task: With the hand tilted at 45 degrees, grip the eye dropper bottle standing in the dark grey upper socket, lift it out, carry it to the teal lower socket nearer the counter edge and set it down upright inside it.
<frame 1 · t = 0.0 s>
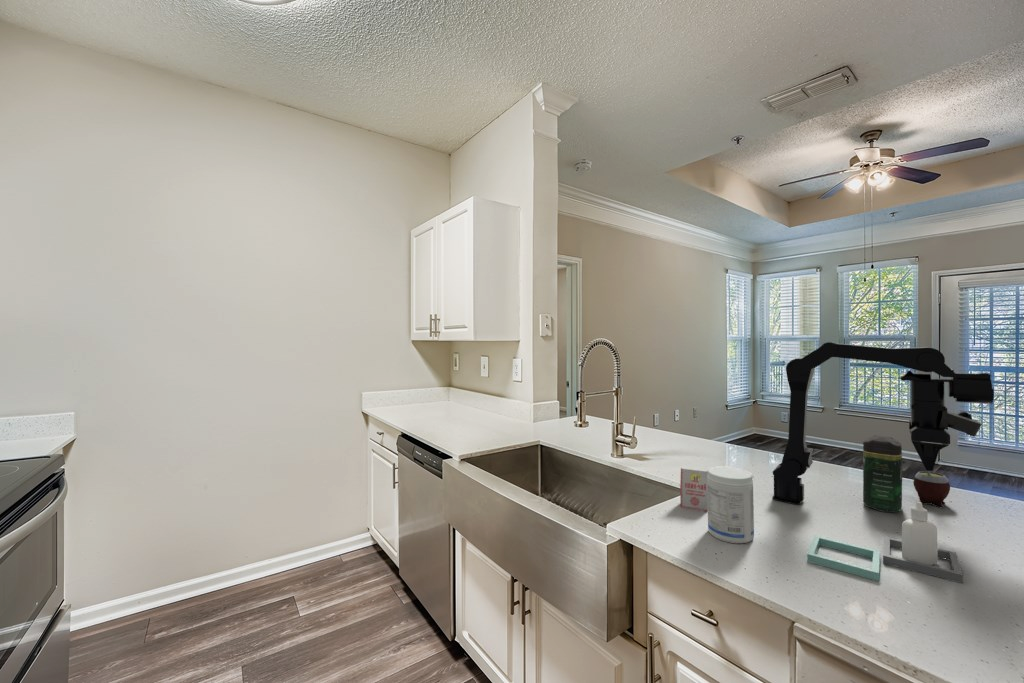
hand: (928, 466, 101), 15 cm above the countertop, tool pointing down, fingers open, 9 cm apart
supplement tub: (730, 536, 98), on the countertop
coffee jar: (882, 507, 114), on the countertop
lower socket: (843, 559, 87), on the countertop
tea bag: (694, 507, 115), on the countertop
eye dropper bottle: (919, 562, 86), resting in upper socket
upper socket: (919, 561, 86), on the countertop
mate gourd: (932, 504, 115), on the countertop
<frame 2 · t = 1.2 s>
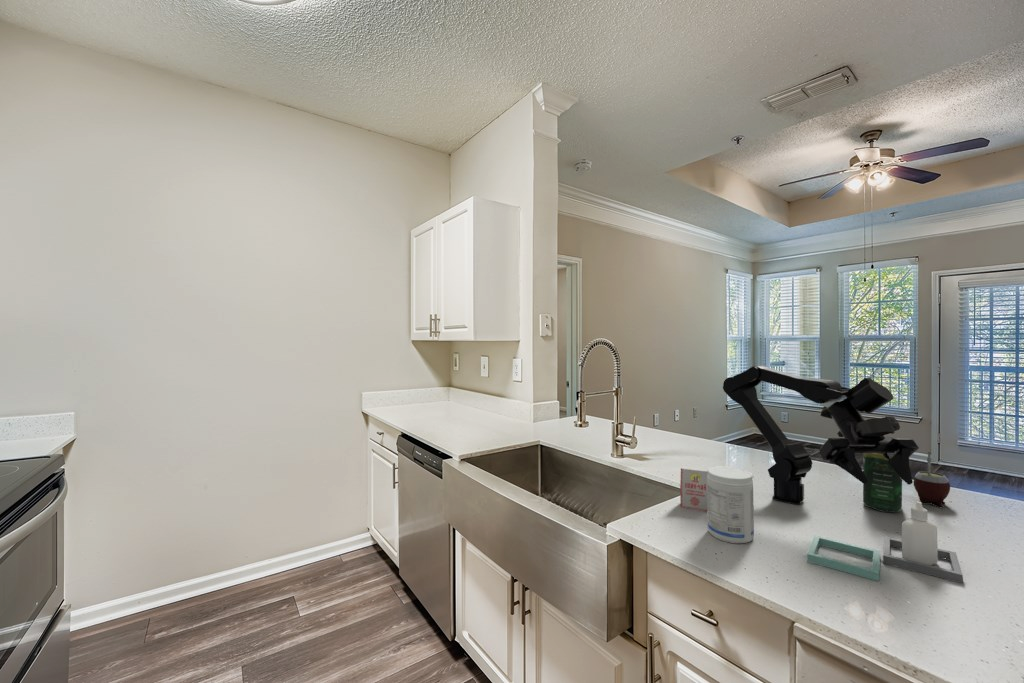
hand: (888, 483, 93), 13 cm above the countertop, tool tilted 45°, fingers open, 9 cm apart
nothing on the countertop moved.
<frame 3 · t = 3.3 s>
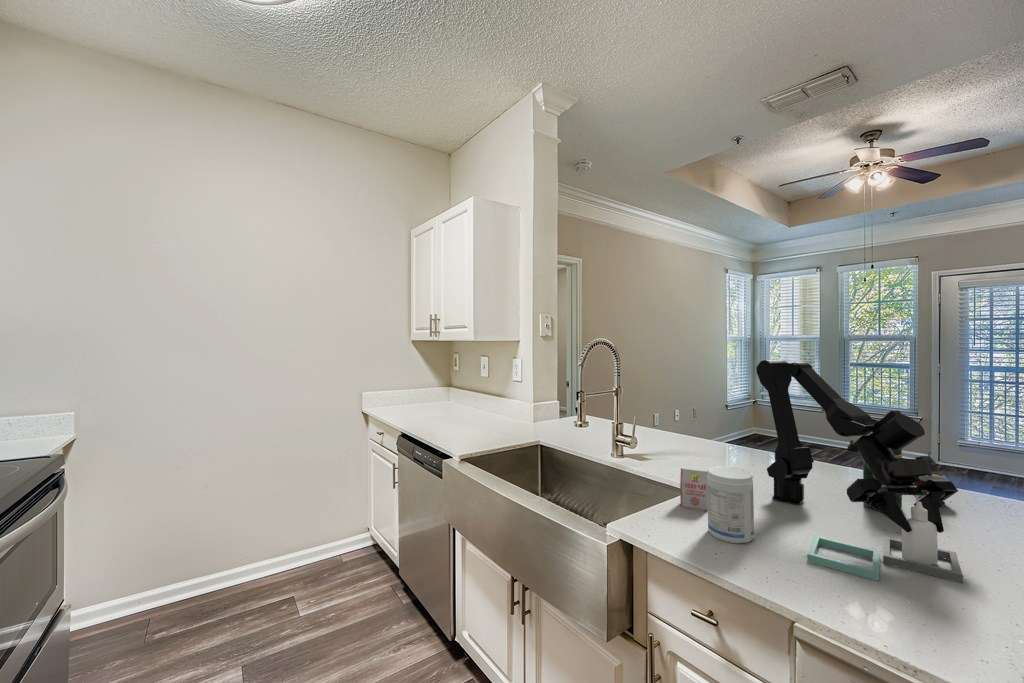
hand: (925, 531, 84), 7 cm above the countertop, tool tilted 45°, fingers closed on eye dropper bottle, 6 cm apart
eye dropper bottle: (919, 562, 86), resting in upper socket, touching gripper
everything else where it was.
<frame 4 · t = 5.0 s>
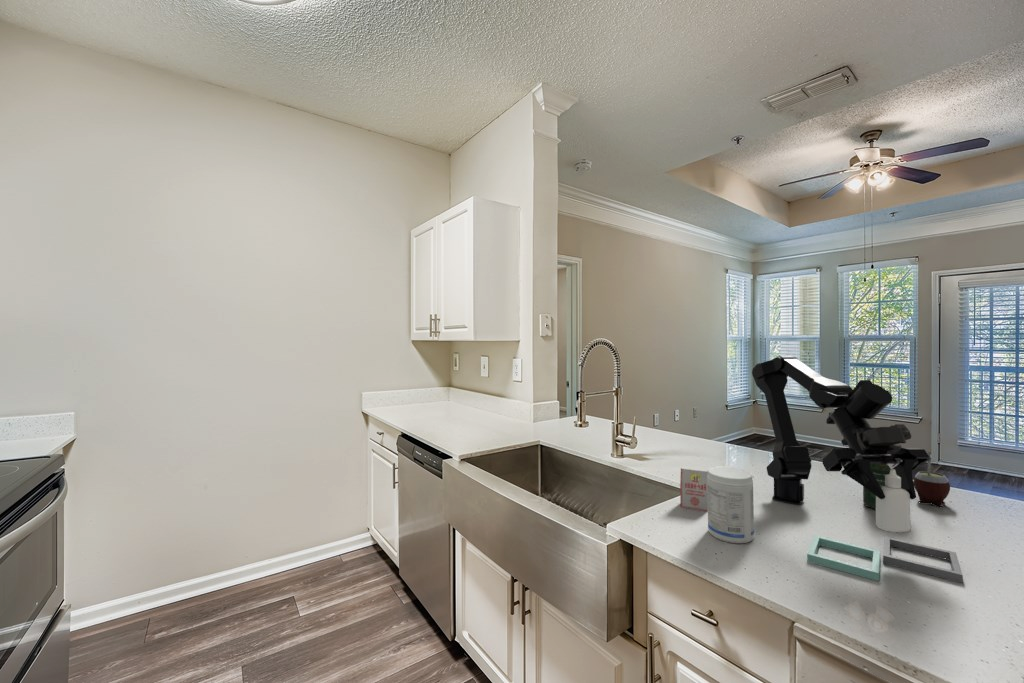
hand: (898, 498, 85), 13 cm above the countertop, tool tilted 45°, fingers closed on eye dropper bottle, 6 cm apart
eye dropper bottle: (892, 529, 86), point 6 cm above the countertop, touching gripper
everything else where it was.
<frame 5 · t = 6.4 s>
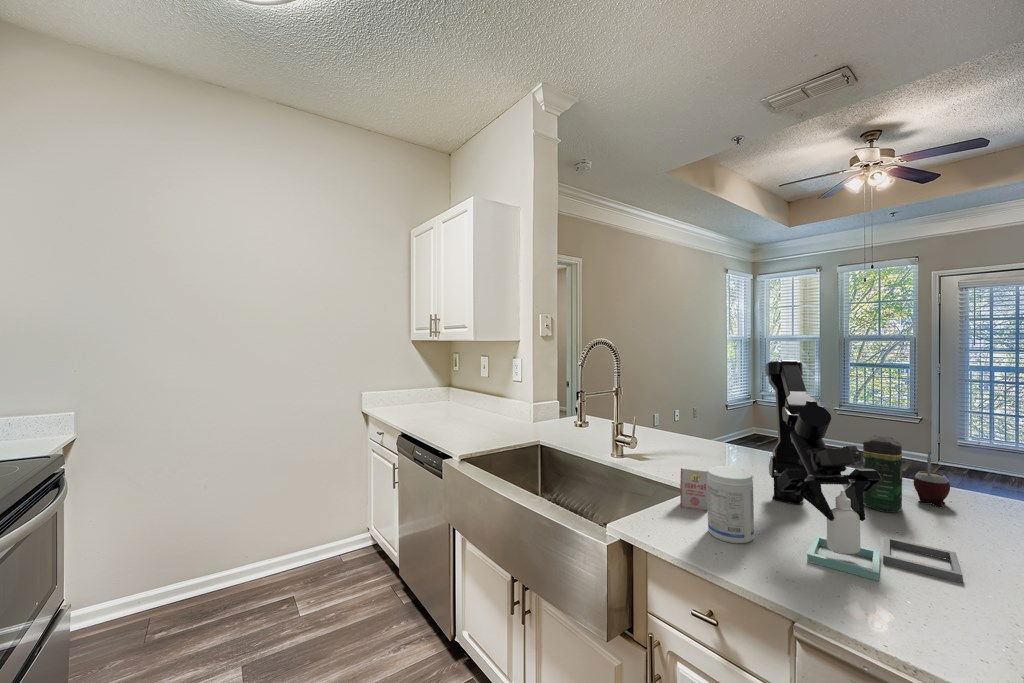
hand: (847, 520, 86), 9 cm above the countertop, tool tilted 45°, fingers closed on eye dropper bottle, 6 cm apart
eye dropper bottle: (843, 551, 87), point 2 cm above the countertop, touching gripper
everything else where it was.
when the fingers open (8 cm above the countertop, at t = 7.1 s): eye dropper bottle stays where it is, resting in lower socket.
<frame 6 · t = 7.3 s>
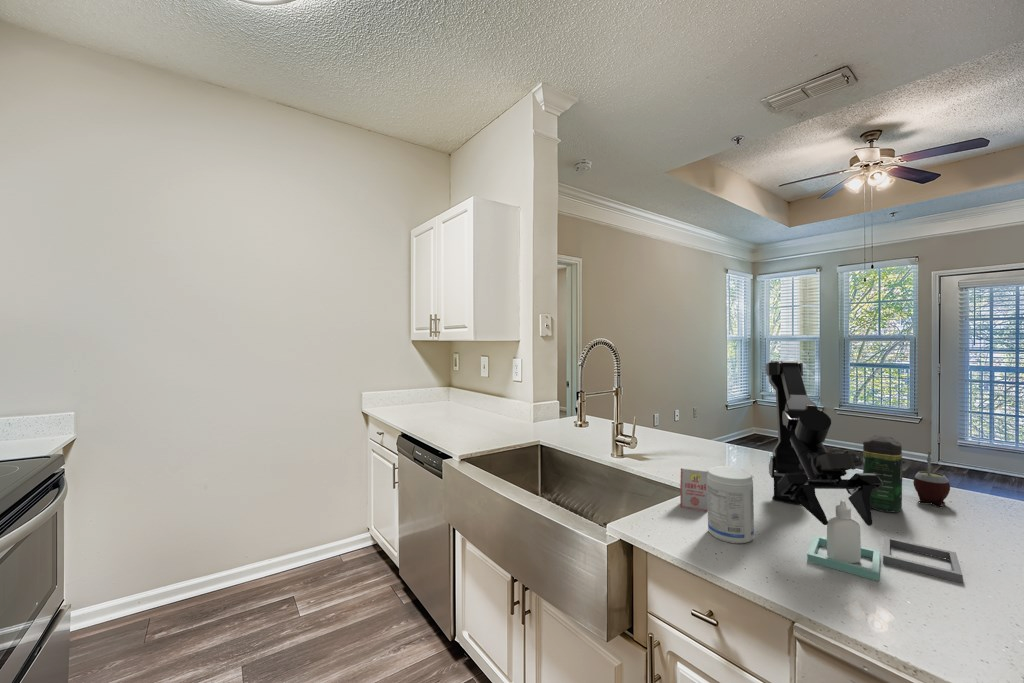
hand: (848, 524, 85), 8 cm above the countertop, tool tilted 45°, fingers open, 8 cm apart
eye dropper bottle: (843, 560, 87), resting in lower socket
everything else where it was.
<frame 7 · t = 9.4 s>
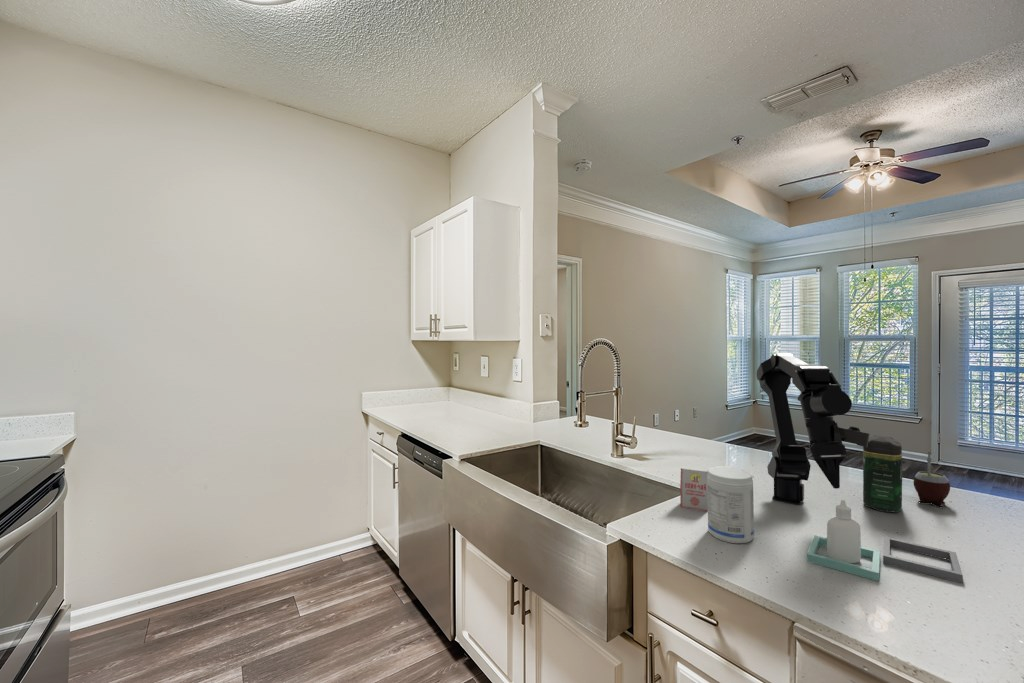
hand: (835, 486, 98), 11 cm above the countertop, tool pointing down, fingers open, 9 cm apart
nothing on the countertop moved.
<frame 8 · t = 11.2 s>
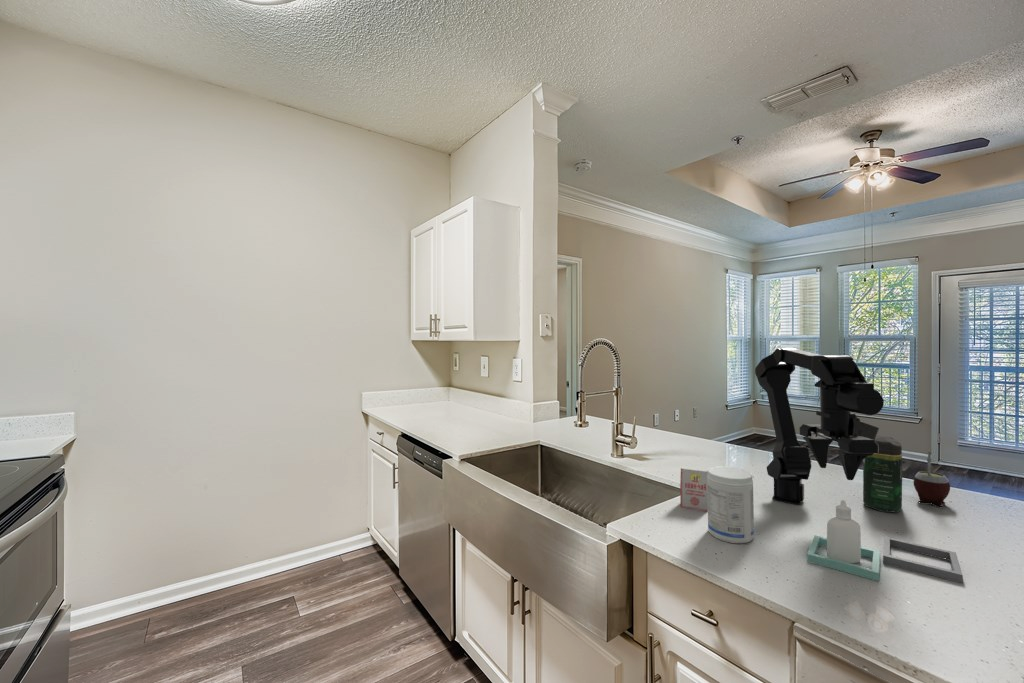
hand: (836, 473, 101), 13 cm above the countertop, tool pointing down, fingers open, 9 cm apart
nothing on the countertop moved.
at the end: eye dropper bottle inside the target area (0.2 cm from its centre), resting in lower socket; eye dropper bottle tilted 0°; the gripper is holding nothing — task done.
